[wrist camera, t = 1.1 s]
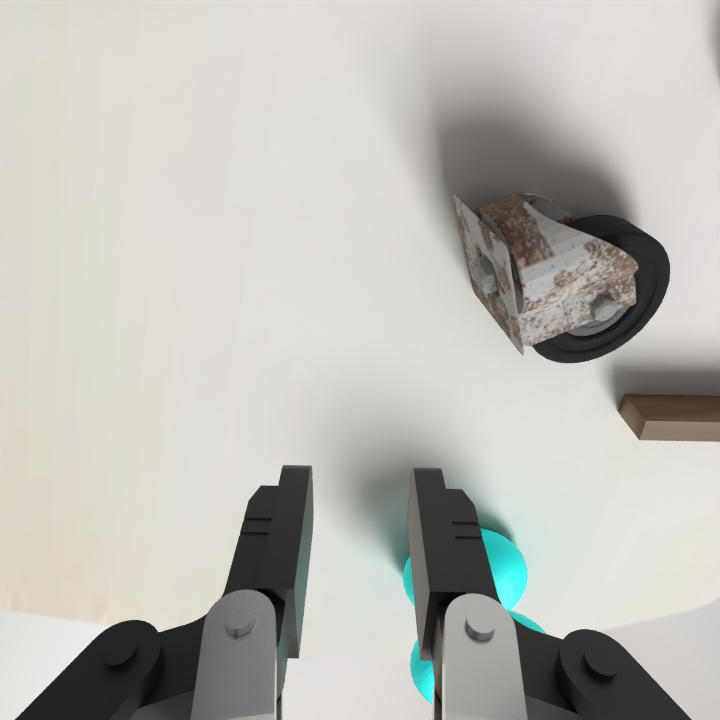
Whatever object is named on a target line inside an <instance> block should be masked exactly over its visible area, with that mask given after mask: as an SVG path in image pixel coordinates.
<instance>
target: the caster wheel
mask: <svg viewBox="0 0 720 720" xmlns="http://www.w3.org/2000/svg"><path fill="white" fill-rule="evenodd" d="M453 199H454V204H455V208H456V213H457V217H458V222H459V226H460V231H461V235H462V240H463V245H464V249H465V254H466V258H467V263H468V267H469V272H470V276H471V281H472V286H473V290H474V292H475V294H476V296H477V297H478V298H479V300H480V301H481V302H482V304H483V305H484V306H485V308H486V309H487V310H488V311H489V313H490V314H491V315H492V317H493V318H494V319H495V321H496V322H497V323H498V325H499V326H500V327H501V328H502V330H503V331H504V332H505V334H506V335H507V336H508V338H509V339H510V340H511V342H512V343H513V344H514V345H515V347H516V348H517V349H518V351H519V352H520V353H521V354H522V355H524V349H523V344H525V345H526V346H532V347H533V348H534V349H535V350H536V351H537V352H538V353H539V354H540V355H542V356H543V357H545V358H546V359H549V360H552V361H555V362H559V363H579V362H585V361H589V360H592V359H595V358H599V357H601V356H603V355H606V354H608V353H610V352H612V351H614V350H615V349H617V348H619V347H620V346H622V345H623V344H625V343H626V342H628V341H629V340H630V339H631V338H632V337H633V336H635V335H636V334H637V333H638V332H639V331H640V330H642V329H643V327H644V326H645V325H646V324H647V322H648V321H649V320H650V319H651V318H652V316H653V315H654V314H655V313H656V311H657V309H658V308H659V306H660V304H661V303H662V301H663V298H664V296H665V294H666V291H667V287H668V284H669V279H670V263H669V259H668V255H667V253H666V251H665V249H664V247H663V246H662V245H661V244H660V243H659V242H658V241H657V240H656V239H654V238H653V237H652V236H650V235H648V234H647V233H645V232H644V231H642V230H641V229H639V228H637V227H636V226H634V225H632V224H631V223H629V222H627V221H626V220H624V219H621V218H618V217H615V216H611V215H596V216H589V217H584V218H581V219H578V220H576V219H575V218H574V217H573V216H572V215H571V214H570V213H569V212H568V211H566V210H565V209H564V208H562V207H561V206H560V205H558V204H557V203H555V202H554V201H552V200H550V199H548V198H546V197H543V196H541V195H537V194H533V193H525V192H523V193H515V194H512V195H510V196H508V197H505V198H503V199H500V200H498V201H496V202H493V203H491V204H488V205H486V206H484V207H481V208H479V209H477V210H476V211H475V213H473V212H472V211H471V210H470V209H469V208H468V207H467V206H466V205H465V204H464V203H463V202H462V201H461V200H460V199H459V198H458V197H457V196H456V195H453Z"/></svg>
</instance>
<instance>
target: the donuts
mask: <svg viewBox="0 0 720 720" xmlns="http://www.w3.org/2000/svg"><path fill="white" fill-rule="evenodd" d="M480 529H481V528H480ZM481 533H482V539H483V541H484V544H485V548H486V552H487V556H488V560H489V564H490V567H491V571H492V575H493V579H494V583H495V587H496V590H497V594H498V597H499V600H500V601H501V603H502V605H503V607H504V608H505V609H506V610H507V611H508V612H509V614H510V615H511V616H512V617H513V618H514V619H515V620H517V621H518V622H520V623H521V624H522V625H524V626H526V627H528V628H530V629H533V630H535V631H538V632H541V633H544V634H546V633H545V632H544V631H543V629H542V628H541V627H540V626H539V625H537V624H536V623H535V622H533V621H532V620H530V619H529V618H527V617H525V616H523V615H521V614H519V613H516V612H513V611H510V610H511V609H512V608H513V607H514V606H515V605H516V604H517V603H518V602H519V600H520V599H521V597H522V595H523V593H524V591H525V589H526V585H527V579H528V572H527V565H526V562H525V560H524V557H523V555H522V554H521V552H520V551H519V549H518V548H517V547H516V546H515V545H514V544H513V543H512V542H511V541H510V540H508V539H507V538H505V537H504V536H502V535H500V534H498V533H496V532H493V531H490V530H486V529H481ZM403 581H404V587H405V590H406V593H407V596H408V597H409V599H410V601H411V602H412V604H413V605H414V606H415V603H414V593H413V583H412V572H411V562H410V556H409V558H408V559H407V562H406V564H405V568H404V573H403ZM410 667H411V674H412V678H413V681H414V684H415V685H416V687H417V689H418V691H419V692H420V693H421V695H422V696H423V697H424V698H425V699H426V700H427V701H429V702H430V703H431V704H432V694H433V687H434V673H433V665H432V661H420V654H419V643H418V639H417V641H416V643H415V645H414V648H413V651H412V654H411V661H410Z"/></svg>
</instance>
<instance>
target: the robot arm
mask: <svg viewBox="0 0 720 720" xmlns="http://www.w3.org/2000/svg"><path fill="white" fill-rule="evenodd" d="M407 529H408V542H409V552H410V562H411V572H412V583H413V593H414V603H415V613H416V623H417V633H418V643H419V654H420V661H432V665H433V673H434V687H433V694H432V720H691V719H690V718H689V716H688V715H686V713H685V712H684V711H683V710H682V709H681V708H680V707H679V706H678V705H677V704H676V703H675V702H674V701H673V699H672V698H671V697H670V696H669V695H668V694H667V693H666V692H665V691H664V690H663V689H662V688H661V687H660V686H659V685H658V683H657V682H656V681H655V680H654V679H653V678H652V677H651V676H650V675H649V674H648V673H647V672H646V671H645V670H644V669H643V667H642V666H641V665H640V664H639V663H638V662H637V661H636V660H635V659H634V658H633V657H632V656H631V655H630V654H629V653H628V652H627V651H626V649H624V647H622V646H621V645H620V644H619V643H618V642H617V641H615V640H614V639H612V638H611V637H609V636H607V635H605V634H603V633H601V632H598V631H594V630H588V629H581V630H576V631H573V632H571V633H569V634H568V635H567V636H566V637H565V638H564V639H563V640H562V639H559V638H556V637H553V636H550V635H547V634H544V633H541V632H538V631H535V630H533V629H530V628H528V627H526V626H524V625H522V624H521V623H520V622H518V621H517V620H515V619H514V618H513V617H512V616H511V615H510V614H509V612H508V611H507V610H506V609H505V608H504V607H503V605H502V603H501V601H500V600H499V597H498V594H497V590H496V587H495V583H494V579H493V575H492V571H491V567H490V564H489V560H488V556H487V552H486V548H485V544H484V541H483V539H482V533H481V529H480V526H479V521H478V518H477V514H476V510H475V506H474V504H473V503H472V501H471V500H470V499H469V498H468V496H467V495H466V494H465V493H464V491H463V490H462V489H445V484H444V479H443V474H442V470H441V469H440V468H412V471H411V480H410V491H409V502H408V514H407ZM312 533H313V481H312V466H298V465H283V467H282V471H281V475H280V480H279V485H278V486H260V488H259V489H258V490H257V491H256V492H255V494H254V495H253V496H252V497H251V498H250V500H249V502H248V505H247V509H246V513H245V517H244V521H243V524H242V528H241V532H240V536H239V539H238V543H237V546H236V550H235V554H234V558H233V561H232V565H231V569H230V573H229V576H228V580H227V584H226V587H225V590H224V593H223V595H222V597H221V599H219V600H218V601H217V602H216V603H215V604H214V605H213V606H212V607H211V609H210V610H209V612H208V613H207V614H206V615H205V616H203V617H202V618H200V619H198V620H196V621H194V622H192V623H189V624H186V625H183V626H179V627H176V628H172V629H169V630H166V631H162V632H159V633H158V631H157V630H156V628H155V627H154V626H152V625H151V624H150V623H147V622H145V621H141V620H129V621H124V622H120V623H118V624H115V625H113V626H111V627H110V628H108V629H106V630H105V631H103V632H102V633H101V634H100V635H98V636H97V637H96V638H95V639H94V640H93V641H92V642H91V643H90V644H89V645H88V646H87V647H86V648H85V649H84V650H83V651H82V652H81V653H80V654H79V655H78V656H77V657H76V658H75V659H74V660H73V661H72V662H71V663H70V664H69V665H68V666H67V668H65V670H64V671H63V672H62V673H61V674H60V675H59V676H58V677H57V678H56V679H55V680H54V681H53V682H52V683H51V684H50V685H49V686H48V687H47V688H46V689H45V690H44V691H43V692H42V693H41V694H40V695H39V696H38V697H37V698H36V699H35V700H34V701H33V702H32V703H31V704H30V705H29V706H28V707H27V708H26V709H25V710H24V711H23V712H22V713H21V714H20V715H19V716H18V717H17V718H16V719H15V720H283V687H284V682H285V674H286V666H287V659H288V658H299V651H300V642H301V633H302V624H303V615H304V606H305V597H306V588H307V578H308V569H309V560H310V551H311V542H312Z"/></svg>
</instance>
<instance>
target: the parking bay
mask: <svg viewBox="0 0 720 720" xmlns="http://www.w3.org/2000/svg"><path fill="white" fill-rule="evenodd" d="M619 414H620V415H621V417H622V418H623V419H624V420H625V422H626V423H627V424H628V426H629V427H630V428H631V430H632V431H633V432H634V434H635V435H636V436H637V438H638V439H639V440H663V441H715V442H720V396H670V395H624V398H623V401H622V404H621V407H620V410H619Z"/></svg>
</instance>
